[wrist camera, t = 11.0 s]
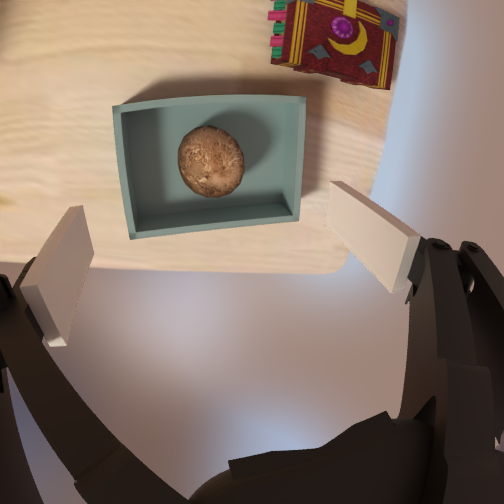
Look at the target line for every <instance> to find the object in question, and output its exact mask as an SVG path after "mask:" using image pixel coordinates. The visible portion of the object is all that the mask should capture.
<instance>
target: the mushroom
mask: <svg viewBox="0 0 504 504" xmlns="http://www.w3.org/2000/svg"><path fill="white" fill-rule="evenodd" d="M177 162H178V167H179V171H180V175H181V177H182V179H183V181H184V183H185V185H187V186H188V187H189V188H190V189H191V190H192V191H193V192H194V193H196V194H198V195H201V196H203V197H206V198H220V197H223V196H226V195H228V194H231V193H232V192H233V191H234V190H235V189H236V188H237V187H238V186H239V185H240V184H241V181H242V178H243V174H244V171H245V167H244V154H243V152H242V151H241V149H240V147H239V145H238V143H237V141H236V140H235V139H234V138H233V137H232V136H231V135H230V134H229V133H227V132H226V131H225V130H223V129H220V128H218V127H215V126H212V125H207V126H201V127H196V128H194V129H193V130H191V131H190V132H189V133H188V134H186V135H185V136H184V137H183V139H182V141H181V144H180V146H179V148H178V161H177Z"/></svg>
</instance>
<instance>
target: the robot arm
mask: <svg viewBox="0 0 504 504" xmlns="http://www.w3.org/2000/svg"><path fill="white" fill-rule="evenodd" d="M325 227H326V228H327V229H328V230H329V231H330V232H331V233H332V234H333V235H335V236H336V237H337V238H338V239H339V240H340V241H341V242H342V243H343V244H344V245H345V246H346V247H347V248H348V249H349V250H350V251H351V252H352V253H353V254H354V255H355V256H356V257H357V258H358V259H359V260H360V261H361V262H362V264H363V265H364V266H365V267H366V268H367V269H368V270H369V271H370V272H371V273H372V274H373V275H374V276H375V277H376V278H377V279H378V280H379V281H380V282H381V283H382V284H383V285H384V286H385V288H386V289H387V290H388V291H389V292H390V293H394V292H398V291H402V290H404V287H405V284H406V281H407V278H408V279H409V280H410V281H411V282H412V286H411V288H410V291H409V294H408V296H407V299H406V301H405V304H407V303H408V301H410V310H409V311H410V312H409V334H408V349H407V361H406V371H405V380H404V389H403V396H402V403H401V409H400V413H399V416H398V418H397V419H391V418H390V416H389V415H388V413H387V411H384V412H382V413H380V414H378V415H376V416H373V417H371V418H369V419H366V420H364V421H362V422H359V423H356V424H354V425H353V426H351V427H350V428H348V429H347V430H345V431H344V432H343V433H341V434H340V435H338V436H337V437H336V438H334V439H332V440H331V441H329V442H328V443H327V444H325V445H323V446H322V447H319V448H315V449H303V450H288V451H270V452H266V453H262V454H258V455H253V456H249V457H244V458H239V459H234V460H229V461H228V463H229V468H230V469H228V470H226V471H224V472H222V473H220V474H218V475H216V476H214V477H213V478H211V479H209V480H208V481H207V482H205V483H204V484H203V485H202V486H201V487H199V488H198V489H197V490H196V491H195V492H194V494H193V495H192V496H191V497H190V498H189V500H187V499H186V498H184V497H183V496H182V495H181V494H179V493H178V492H176V491H175V490H174V489H173V488H171V487H170V486H169V485H168V484H167V483H165V482H164V481H163V480H162V479H161V478H159V477H158V476H157V475H156V474H155V473H153V472H152V471H151V470H150V469H149V468H148V467H147V466H146V465H144V464H143V463H142V462H141V461H140V460H139V459H138V458H137V457H136V456H135V455H134V454H133V453H132V452H131V451H130V450H129V449H127V448H126V447H125V446H124V445H123V444H122V443H121V442H120V441H119V440H118V439H117V438H116V437H115V436H114V435H113V434H112V433H111V432H110V431H109V430H108V429H107V428H106V426H105V425H104V424H103V423H102V422H101V421H100V420H99V419H98V417H97V416H96V415H95V414H94V413H93V412H92V411H91V409H90V408H89V407H88V406H87V405H86V403H85V402H84V401H83V400H82V398H81V397H80V396H79V395H78V393H77V392H76V391H75V390H74V388H73V387H72V385H71V384H70V383H69V382H68V380H67V379H66V378H65V376H64V375H63V373H62V372H61V370H60V369H59V368H58V366H57V365H56V363H55V362H54V360H53V359H52V357H51V356H50V354H49V353H48V351H47V350H46V348H45V347H44V345H43V343H42V339H43V336H44V337H45V339H46V340H47V342H48V344H49V345H50V346H66V345H67V342H68V337H69V334H70V329H71V326H72V322H73V318H74V315H75V311H76V307H77V304H78V301H79V297H80V294H81V291H82V287H83V284H84V281H85V278H86V275H87V272H88V269H89V266H90V263H91V261H92V258H93V255H94V250H93V247H92V243H91V239H90V235H89V231H88V227H87V222H86V218H85V214H84V209H83V205H81V206H75V207H70V208H69V209H68V210H67V212H66V213H65V214H64V216H63V217H62V219H61V220H60V222H59V223H58V225H57V226H56V227H55V229H54V230H53V232H52V233H51V235H50V236H49V238H48V240H47V241H46V243H45V244H44V246H43V247H42V249H41V251H40V252H39V254H38V255H37V257H33V258H32V259H31V260H30V261H29V262H28V263H27V264H26V265H25V267H24V269H23V270H22V273H21V274H20V275H19V277H18V279H17V281H16V282H15V284H14V286H13V288H12V287H11V284H10V282H9V280H8V278H7V276H6V275H4V274H0V504H44V503H43V501H42V499H41V496H40V494H39V491H38V489H37V487H36V484H35V481H34V479H33V476H32V474H31V471H30V468H29V465H28V462H27V459H26V456H25V453H24V450H23V446H22V443H21V439H20V436H19V432H18V428H17V424H16V420H15V416H14V411H13V406H12V401H11V396H10V390H9V384H8V378H7V371H6V367H8V368H9V371H10V373H11V375H12V377H13V379H14V382H15V384H16V386H17V388H18V390H19V392H20V394H21V396H22V398H23V400H24V402H25V403H26V405H27V407H28V409H29V411H30V413H31V414H32V416H33V418H34V420H35V421H36V423H37V425H38V426H39V428H40V430H41V431H42V433H43V435H44V436H45V438H46V439H47V441H48V442H49V444H50V445H51V447H52V448H53V450H54V451H55V453H56V454H57V456H58V457H59V459H60V460H61V461H62V463H63V464H64V465H65V467H66V468H67V470H68V471H69V472H70V473H71V475H72V476H73V478H74V480H75V482H74V486H75V488H76V489H77V491H78V492H79V494H80V495H81V496H82V498H83V499H84V500H85V501H86V502H87V503H88V504H504V277H503V276H502V274H501V273H500V272H499V270H498V269H497V267H496V266H495V265H494V263H493V262H492V261H491V259H490V258H489V257H488V255H487V254H486V253H485V252H484V250H483V249H482V248H481V247H480V246H478V245H477V244H476V243H474V242H469V241H463V242H462V244H461V247H460V249H459V251H457V250H452V248H451V246H450V245H449V244H447V243H446V242H444V241H443V240H440V239H435V238H429V239H427V240H426V239H425V238H423V237H422V236H421V235H420V234H418V233H417V232H416V231H414V230H413V229H412V228H410V227H409V226H408V225H406V224H405V223H404V222H402V221H401V220H399V219H398V218H396V217H395V216H394V215H392V214H391V213H389V212H388V211H386V210H385V209H384V208H382V207H380V206H379V205H378V204H376V203H375V202H373V201H371V200H370V199H369V198H367V197H366V196H364V195H363V194H361V193H359V192H358V191H356V190H355V189H353V188H352V187H350V186H348V185H347V184H345V183H344V182H342V181H330V186H329V194H328V203H327V211H326V219H325ZM473 281H474V288H473V290H472V292H471V291H470V287H471V285H472V282H473ZM495 437H496V439H497V441H498V443H499V445H498V446H497V447H496V448H495Z"/></svg>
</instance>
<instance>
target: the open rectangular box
mask: <svg viewBox="0 0 504 504" xmlns="http://www.w3.org/2000/svg"><path fill="white" fill-rule="evenodd" d="M112 110H113V123H114V135H115V145H116V154H117V162H118V170H119V178H120V185H121V191H122V198H123V204H124V210H125V215H126V221H127V226H128V232H129V237H130V240H133V239H141V238H148V237H156V236H165V235H173V234H181V233H190V232H198V231H207V230H216V229H225V228H235V227H244V226H254V225H264V224H274V223H284V222H295V221H299V215H300V202H301V189H302V174H303V159H304V141H305V121H306V97H303V96H289V95H262V94H233V95H205V96H189V97H177V98H166V99H157V100H149V101H141V102H134V103H128V104H122V105H116V106H112ZM207 125H212V126H215V127H218V128H220V129H223V130H225V131H226V132H227V133H229V134H230V135H231V136H232V137H233V138H234V139H235V140H236V141H237V143H238V145H239V147H240V149H241V151H242V152H243V154H244V167H245V171H244V174H243V178H242V181H241V184H240V185H239V186H238V187H237V188H236V189H235V190H234V191H233V192H232V193H231V194H228V195H226V196H223V197H220V198H206V197H203V196H201V195H198V194H196V193H194V192H193V191H192V190H191V189H190V188H189V187H188V186H187V185H185V183H184V181H183V179H182V177H181V175H180V171H179V167H178V162H177V161H178V148H179V146H180V144H181V141H182V139H183V137H184V136H185V135H186V134H188V133H189V132H190V131H191V130H193V129H194V128H196V127H201V126H207Z"/></svg>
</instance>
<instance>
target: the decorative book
mask: <svg viewBox="0 0 504 504" xmlns="http://www.w3.org/2000/svg"><path fill="white" fill-rule="evenodd" d="M270 1H274V0H270ZM274 10H276V11H269V13H268V20H276V23H274V28H273V33H274V36H271V40H270V47H271V46H273V49H272V56H271V64H275V65H281V66H286V67H291V68H294V71H299V72H304V73H309V74H310V73H319V74H324V75H328V76H332V77H335V78H339V79H341V81H342V82H345V83H349V84H352V85H363V86H367V87H370V88H374V89H383V90H390V86H391V78H392V71H393V62H394V53H395V43H396V41H397V39H398V29H399V17H397V16H395V15H392V14H390V13H388V12H386V11H384V10H382V9H380V8H377V7H372V6H370V5H367V4H365V3H363V2H360V1H358V0H277V1H275V3H274Z"/></svg>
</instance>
